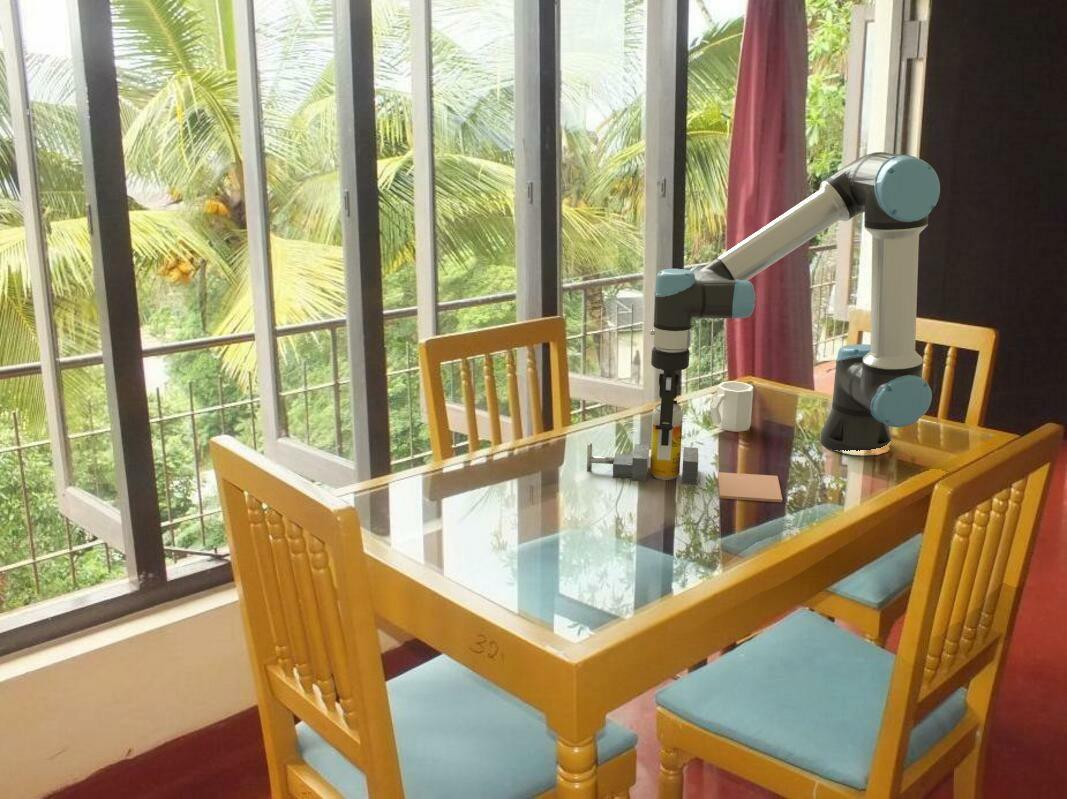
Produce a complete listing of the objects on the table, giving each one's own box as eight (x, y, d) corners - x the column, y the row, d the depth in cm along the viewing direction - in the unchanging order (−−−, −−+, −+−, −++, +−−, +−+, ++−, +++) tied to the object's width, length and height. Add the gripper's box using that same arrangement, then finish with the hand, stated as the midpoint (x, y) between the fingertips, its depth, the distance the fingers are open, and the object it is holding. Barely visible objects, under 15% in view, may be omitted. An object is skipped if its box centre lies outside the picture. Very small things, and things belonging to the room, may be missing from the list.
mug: (729, 417, 231) (732, 379, 228) (758, 426, 225) (761, 387, 222) (697, 428, 224) (699, 388, 221) (726, 438, 218) (729, 397, 215)
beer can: (678, 482, 193) (682, 412, 189) (648, 479, 194) (651, 410, 190) (680, 470, 199) (683, 403, 194) (651, 468, 200) (654, 401, 195)
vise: (696, 469, 199) (698, 443, 198) (696, 484, 192) (698, 457, 190) (588, 463, 203) (589, 437, 201) (584, 477, 195) (585, 450, 194)
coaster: (777, 478, 195) (777, 475, 195) (782, 502, 184) (782, 499, 184) (718, 474, 197) (718, 472, 197) (719, 498, 186) (719, 495, 186)
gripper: (654, 331, 200) (649, 425, 207) (649, 363, 177) (643, 468, 184) (690, 333, 199) (683, 428, 206) (689, 365, 176) (682, 471, 182)
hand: (664, 447), depth 195 cm, fingers open, 13 cm apart
